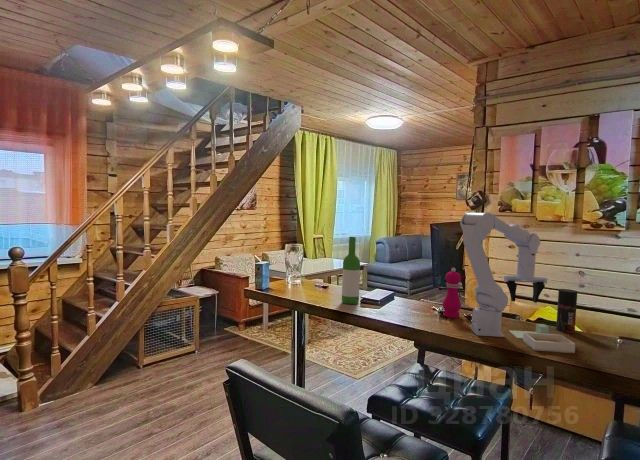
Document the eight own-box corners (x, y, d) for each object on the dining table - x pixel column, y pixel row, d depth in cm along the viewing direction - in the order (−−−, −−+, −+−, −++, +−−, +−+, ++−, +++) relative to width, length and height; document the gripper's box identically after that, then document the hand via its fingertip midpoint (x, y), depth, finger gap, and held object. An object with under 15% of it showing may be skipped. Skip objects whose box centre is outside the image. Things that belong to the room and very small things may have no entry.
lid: (517, 339, 139) (517, 327, 138) (508, 332, 147) (509, 320, 147) (552, 341, 137) (553, 329, 137) (542, 334, 146) (542, 322, 146)
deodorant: (566, 333, 146) (568, 292, 145) (552, 328, 152) (554, 289, 151) (578, 332, 148) (581, 292, 147) (564, 327, 153) (567, 288, 152)
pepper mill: (461, 319, 161) (464, 269, 160) (442, 317, 162) (445, 268, 161) (459, 314, 168) (461, 267, 167) (441, 313, 169) (443, 266, 168)
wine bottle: (338, 302, 183) (340, 236, 182) (350, 300, 188) (353, 236, 186) (349, 305, 177) (351, 237, 175) (362, 303, 182) (364, 237, 180)
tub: (534, 350, 127) (534, 341, 126) (523, 341, 136) (523, 332, 135) (574, 353, 125) (575, 343, 125) (560, 343, 134) (561, 334, 134)
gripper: (509, 265, 145) (507, 302, 146) (551, 267, 143) (549, 305, 144) (502, 263, 152) (500, 298, 153) (543, 264, 150) (541, 300, 151)
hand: (523, 301), depth 149 cm, fingers open, 7 cm apart
